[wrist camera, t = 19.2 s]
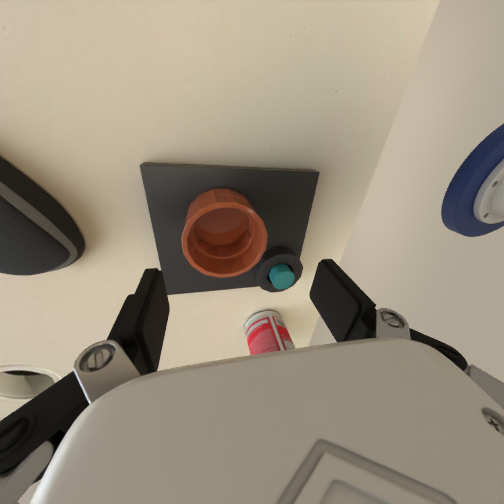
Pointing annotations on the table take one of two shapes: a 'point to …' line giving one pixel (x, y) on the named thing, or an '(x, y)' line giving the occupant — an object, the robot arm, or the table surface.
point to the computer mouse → (33, 228)
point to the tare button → (281, 276)
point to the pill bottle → (267, 333)
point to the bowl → (223, 234)
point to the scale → (257, 193)
